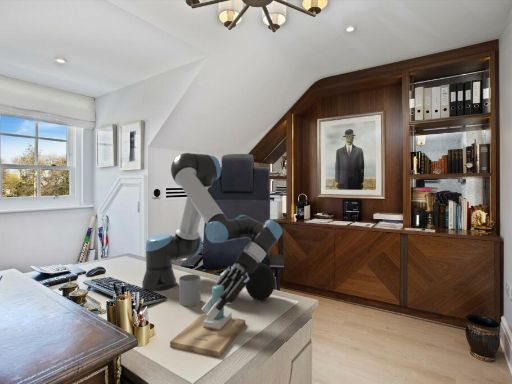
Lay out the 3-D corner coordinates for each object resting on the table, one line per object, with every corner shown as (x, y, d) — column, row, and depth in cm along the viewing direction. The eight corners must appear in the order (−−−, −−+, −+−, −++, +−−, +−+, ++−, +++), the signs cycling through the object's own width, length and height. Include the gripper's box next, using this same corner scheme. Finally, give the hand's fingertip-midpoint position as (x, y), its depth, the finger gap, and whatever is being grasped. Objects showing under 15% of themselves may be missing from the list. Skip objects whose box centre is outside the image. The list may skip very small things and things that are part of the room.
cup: (189, 308, 111) (189, 282, 111) (174, 303, 116) (174, 278, 116) (204, 300, 119) (204, 276, 118) (190, 296, 123) (190, 273, 123)
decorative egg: (245, 306, 113) (245, 268, 113) (244, 294, 126) (244, 259, 125) (276, 305, 114) (277, 267, 114) (272, 293, 127) (273, 259, 126)
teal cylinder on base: (203, 327, 93) (203, 290, 93) (216, 315, 102) (216, 281, 101) (220, 330, 91) (220, 292, 91) (231, 318, 100) (231, 283, 99)
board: (170, 346, 85) (170, 341, 85) (203, 317, 104) (203, 312, 104) (219, 357, 80) (219, 351, 80) (245, 324, 99) (245, 319, 99)
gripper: (270, 270, 97) (225, 331, 88) (245, 258, 111) (205, 310, 103) (257, 256, 94) (209, 318, 86) (233, 246, 108) (190, 299, 100)
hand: (207, 314), depth 94 cm, fingers closed on teal cylinder on base, 4 cm apart
